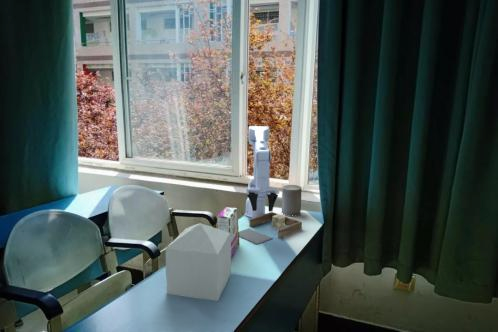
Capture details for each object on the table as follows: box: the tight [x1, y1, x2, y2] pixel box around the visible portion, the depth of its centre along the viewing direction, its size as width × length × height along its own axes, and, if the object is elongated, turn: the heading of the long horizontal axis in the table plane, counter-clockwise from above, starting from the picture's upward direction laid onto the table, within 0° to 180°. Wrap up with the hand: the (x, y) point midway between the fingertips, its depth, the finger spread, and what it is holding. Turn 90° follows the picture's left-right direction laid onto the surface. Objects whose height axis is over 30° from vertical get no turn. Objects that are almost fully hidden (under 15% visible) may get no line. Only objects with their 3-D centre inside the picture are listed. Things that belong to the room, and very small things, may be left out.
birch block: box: [271, 213, 286, 230], centre depth 157 cm, size 4×4×5 cm
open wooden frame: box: [249, 211, 303, 239], centre depth 156 cm, size 18×15×4 cm
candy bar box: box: [216, 206, 238, 259], centre depth 129 cm, size 11×5×16 cm, turn 168°
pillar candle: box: [281, 184, 303, 217], centre depth 175 cm, size 10×10×15 cm
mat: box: [238, 228, 273, 245], centre depth 146 cm, size 14×9×1 cm, turn 45°
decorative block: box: [165, 222, 232, 302], centre depth 107 cm, size 16×16×20 cm
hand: (262, 211), depth 145 cm, fingers open, 7 cm apart
